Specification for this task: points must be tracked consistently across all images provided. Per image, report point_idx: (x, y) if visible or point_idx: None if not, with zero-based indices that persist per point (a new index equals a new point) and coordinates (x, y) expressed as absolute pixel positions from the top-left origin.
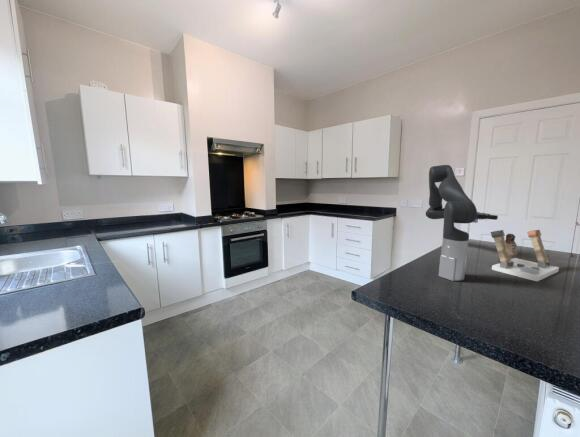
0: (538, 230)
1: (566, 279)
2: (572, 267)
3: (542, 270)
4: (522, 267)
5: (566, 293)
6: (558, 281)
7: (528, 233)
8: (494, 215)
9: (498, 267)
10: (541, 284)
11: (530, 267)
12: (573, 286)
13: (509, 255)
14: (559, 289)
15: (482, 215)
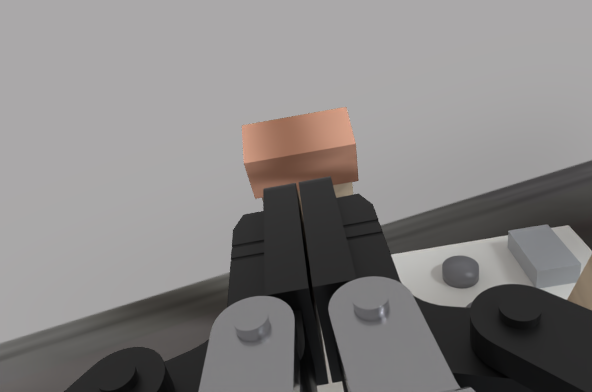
0: (270, 124)
1: (385, 239)
2: (125, 309)
3: (428, 265)
4: (568, 263)
5: (568, 179)
6: (452, 233)
7: (354, 152)
8: (330, 191)
9: None
10: (580, 227)
11: (438, 302)
12: (455, 203)
13: (571, 293)
14: (554, 197)
15: (587, 336)
